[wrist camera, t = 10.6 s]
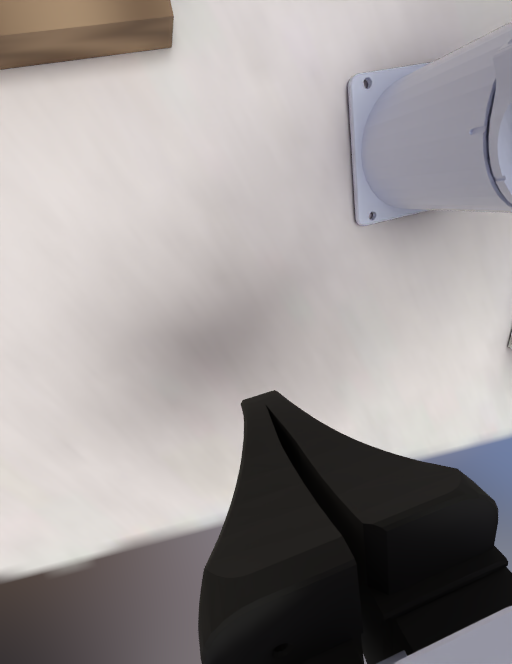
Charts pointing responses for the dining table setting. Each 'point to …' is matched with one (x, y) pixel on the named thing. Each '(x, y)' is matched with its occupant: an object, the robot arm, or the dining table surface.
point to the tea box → (511, 343)
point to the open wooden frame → (80, 29)
